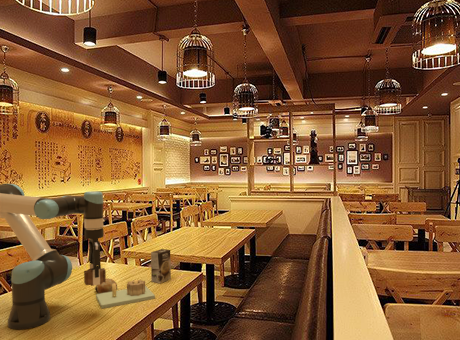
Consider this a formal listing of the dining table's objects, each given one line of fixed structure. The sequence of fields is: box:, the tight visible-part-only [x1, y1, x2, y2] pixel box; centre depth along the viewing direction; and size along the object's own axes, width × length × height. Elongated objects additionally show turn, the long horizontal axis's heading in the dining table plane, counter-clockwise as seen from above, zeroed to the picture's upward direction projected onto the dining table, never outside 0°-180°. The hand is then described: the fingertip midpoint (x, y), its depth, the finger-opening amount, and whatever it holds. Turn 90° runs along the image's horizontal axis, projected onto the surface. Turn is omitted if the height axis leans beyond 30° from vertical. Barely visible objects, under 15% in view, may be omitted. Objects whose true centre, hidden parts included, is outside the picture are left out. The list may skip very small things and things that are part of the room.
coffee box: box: [150, 248, 172, 284], centre depth 203 cm, size 9×6×16 cm
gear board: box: [95, 279, 156, 310], centre depth 178 cm, size 24×16×8 cm, turn 118°
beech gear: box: [126, 279, 146, 296], centre depth 180 cm, size 8×8×5 cm
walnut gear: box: [83, 267, 107, 287], centre depth 159 cm, size 8×8×5 cm
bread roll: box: [94, 278, 118, 294], centre depth 188 cm, size 10×10×8 cm
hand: (94, 281), depth 159 cm, fingers closed on walnut gear, 8 cm apart
